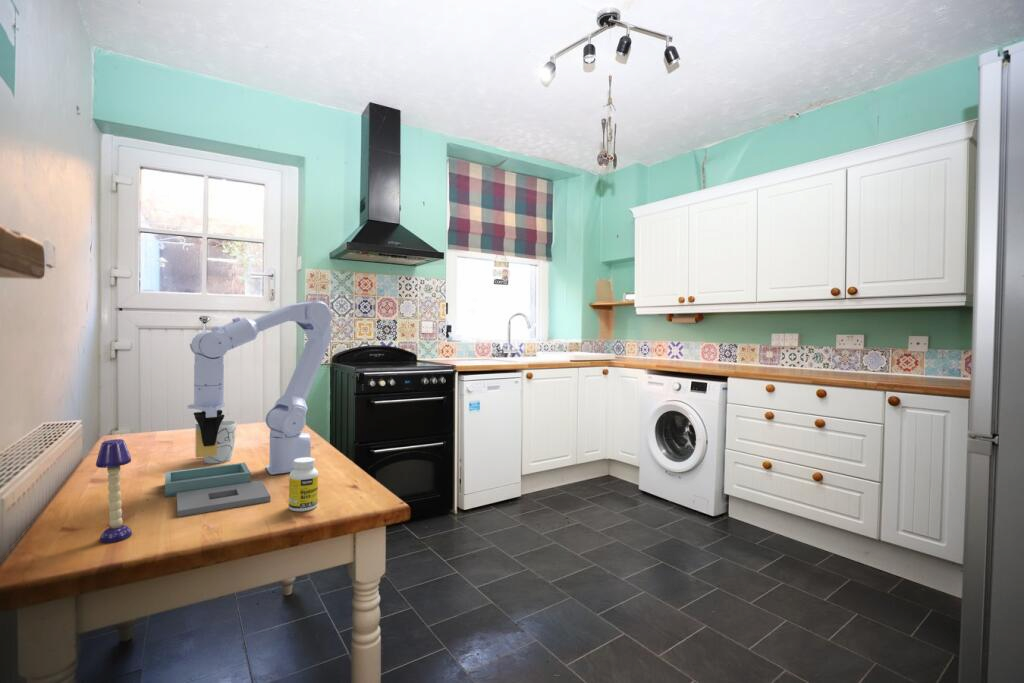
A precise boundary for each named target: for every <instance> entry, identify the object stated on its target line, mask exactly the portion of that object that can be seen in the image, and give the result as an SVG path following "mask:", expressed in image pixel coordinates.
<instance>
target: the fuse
mask: <svg viewBox="0 0 1024 683" xmlns="http://www.w3.org/2000/svg"><path fill="white" fill-rule="evenodd" d="M194 425H195V426H194V427H195V428H194V429H195V430H194V431H195V438H194V439H195V443H194V444H195V445H194V447H195V448H194V449H195V451H194V453H195V454H194V455H195V458H196V459H197V458H203V457H206V456H215V455H217V439H216V443H215V445H214V446H204V445H203V441H202V436H201V431H200V427H199V424H198V423H194Z"/></svg>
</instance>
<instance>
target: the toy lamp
mask: <svg viewBox="0 0 1024 683" xmlns="http://www.w3.org/2000/svg"><path fill="white" fill-rule="evenodd" d="M100 444H101V445H100V448H99V451H98V455H97V459H96V463H95V466H96V467H97V468H99V469H107V473H108V476H107V482H108V485H107V490H108V496H107V499H108V500H109V502H108V509H109V513H108V516H109V519H110V520H109V527H108V528H106V529H105V530H104V531H103V532H102V533H101V535H100V538H99V542H100V543H104V544H105V543H106V544H109V543H117V542H119V541H123V540H126V539H127V538H129V537H131V536H132V534H133V533H132V530H131V528H130V527H129V526H127V525H124V524H123V518H122V516H123V510H122V505H123V503H122V500H121V499H122V492H121V487H122V486H121V482H120V481H121V477H122V476H121V473H120V472H121V466H125V465H128V464H129V463H131V462H132V457H131V454H130V452H129V449H128V447H127V443H126V441H125V440H124V439H122V438H120V439H119V438H117V439H109V440H104V441H103V442H101V443H100Z"/></svg>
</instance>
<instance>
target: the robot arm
mask: <svg viewBox="0 0 1024 683" xmlns="http://www.w3.org/2000/svg"><path fill="white" fill-rule="evenodd" d="M333 317H334V315H333V313H332V311H331V309H330V307H329V305H328V304H327V303H326V302H325V301H323V300H318V299H317V300H312V301H305V300H301V301H297V302H296V303H295V302H294V303H289V304H286V305H284V306H281V307H279V308H277V309H274V310H271V311H270V312H268V313H265V314H263V315H260V316H258V317H256V318H254V319H249V318H246V317H242V318H241V317H237V316H236V317H234V318H232V321H231V322H229V323H226V324H224V325H221V326H218V325H217V326H213V327H211V330H212V331H204V332H203V331H202V332H198V333H197V334H196V335H194V337H193V338H192V340H191V343H189V348H190V350H191V352H192V353H193V354H194V364H193V365H194V366H193V370H194V371H193V375H194V376H193V403H192V404H191V403H190V404H187V409H193V410H198V411H197V412H196V411H195V412H193V415H194V419H195V420H196V423H197V424H199V427H200V431H201V436H202V441H203V445H204V446H214V445H215V443H216V439H217V434H218V430H219V426H220V424H221V422H222V421H224V418H225V414H223V410H222V409H223V408H224V407H225V402H224V398H225V396H224V392H225V390H224V388H225V387H224V382H225V381H224V379H225V378H224V377H225V376H224V374H225V373H224V372H225V371H224V369H225V365H224V364H225V363H224V356H225V355H226V354H227V353H228V351H231V350H234V349H236V348H238V347H241V346H243V345H245V344H247V343H250V342H252V341H254V340H256V338H257V337H258V335H259V333H260V332H263V331H265V330H268V329H272V328H273V327H276V326H278V325H281V324H284V323H286V322H294V323H296V324H297V326H299V328H301V330H303V333H304V334H305V336H306V337H307V341H306V343H305V345H304V348H303V351H302V352H301V355H300V357H299V359H298V361H297V364H296V366H295V369H294V371H293V373H292V376H291V378H290V380H289V383H288V385H287V387H286V390H285V392H284V394H283V395H281V397H280V398H278V399H277V400H276V402H275V404H274V406H273V407H272V408H271V409H269V411H268V412H267V414H266V415H265V425H266V426H267V428H269V429H270V432H269V464H267V465H265V469H266V471H267V472H268V473H269V475H278V474H287V473H291V471H293V470H294V469H295V468H294V466H293V465H294V460H295V459H297V458H303V457H311V451H312V450H311V446H312V445H311V442H312V441H311V437H310V434H309V433H308V432H302V431H303V430H304V428H305V426H306V422H307V420H306V417H307V416H306V415H307V412H308V409H309V408H308V406H307V402H306V401H307V398H308V395H309V394H310V391H311V388H312V386H313V384H314V381H315V379H316V378H317V377H316V376H317V375H318V372H319V370H320V366H321V364H322V363H323V360H324V358H325V355H326V352H327V350H328V348H329V345H330V344H331V341H332V322H331V321H332V319H333ZM311 458H312V457H311Z"/></svg>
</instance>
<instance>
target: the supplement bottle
mask: <svg viewBox="0 0 1024 683" xmlns="http://www.w3.org/2000/svg"><path fill="white" fill-rule="evenodd" d="M293 466H294V468H295V469H294V470H293V471H291V472H289V477H288V478H289V479H288V480H289V481H288V482H289V483H288V487H289V488H288V508H289V510H290V511H293V512H306V511H311V510H313V509H315V508H316V507H317V506H318V500H319V495H318V493H319V471H318V470H317V469H316V468H315V466H316V459H315V458H314V457H303V458H297V459H295V460H294V465H293Z"/></svg>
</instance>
